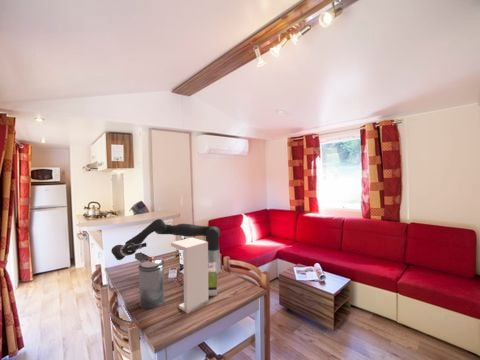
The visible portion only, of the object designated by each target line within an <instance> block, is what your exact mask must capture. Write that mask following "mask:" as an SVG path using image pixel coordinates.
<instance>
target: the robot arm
mask: <svg viewBox="0 0 480 360" xmlns="http://www.w3.org/2000/svg"><path fill="white" fill-rule="evenodd" d="M152 233H156V235H173V236H180V237H188V238H191V237H192V238H194V237H205V241H206V242H208V263H213V262H216V264H217V275H218V274H219V273H221V272H222V270H221V268H222V265H221V264H222V263H221V261H222V260H221V258H220V244H219V237H220V235H221V230H220V228H218V227H217V226H214V225H213V226H212V225H211V226H210V225H208V226H206V225H205V226H204V225H197V224H191V223H178V224H174V225H173V224H172V225H171V224H166V223H165V222H164V220H163V219H161V218H157V219H155V220H153V221H152V222H151V223H149V225H148V226H146V227H145V228H144V229H143V230H141V232H139V233H138V234H137V235H134V236H133V237H131V238H130V239H128V240H127V241H125V244H124V245H123V244H116V245H115V246H112V248H111V254H112V255H113V257H114V258H115V259H116V261H122V260H123V259H124V258H126V257H129V256H131V255H135V254H136V253H137V251H138V250H142V248H145V247H147V246H148V244H147V242H144V241H145V240H146V239H147V237H149V236H150V235H151V234H152Z"/></svg>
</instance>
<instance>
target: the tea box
mask: <svg viewBox="0 0 480 360" xmlns="http://www.w3.org/2000/svg"><path fill="white" fill-rule="evenodd" d="M217 292H218V274H217V264H216V262H213V263H208V297H211V296H213V297H215V296H217V295H218V293H217Z"/></svg>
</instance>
